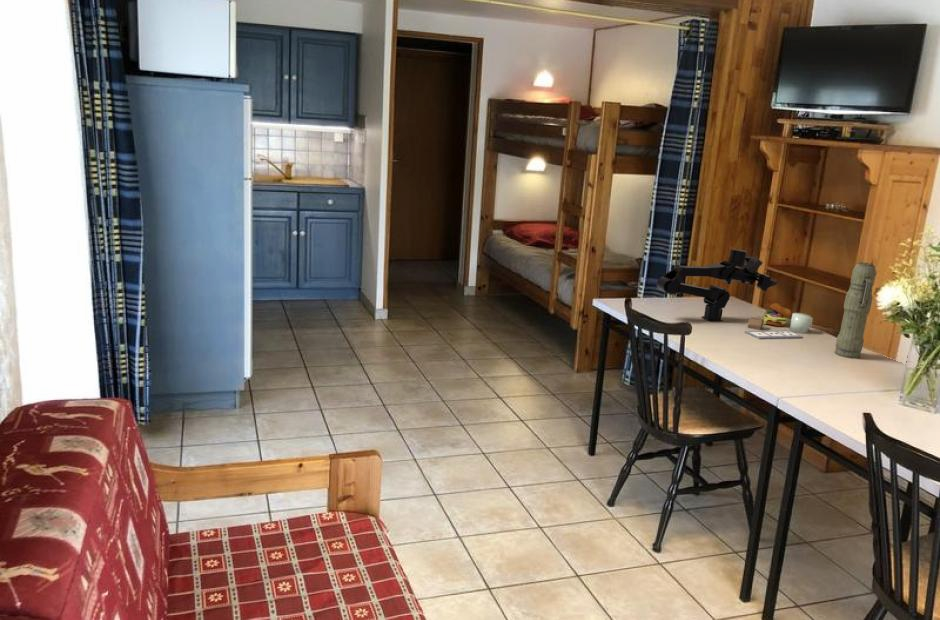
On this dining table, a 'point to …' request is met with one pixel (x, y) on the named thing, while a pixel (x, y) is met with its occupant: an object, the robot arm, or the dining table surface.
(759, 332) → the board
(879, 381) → the dining table surface
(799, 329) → the mug
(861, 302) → the thermos
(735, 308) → the dining table surface
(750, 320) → the brown wooden block
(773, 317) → the cheeseburger
